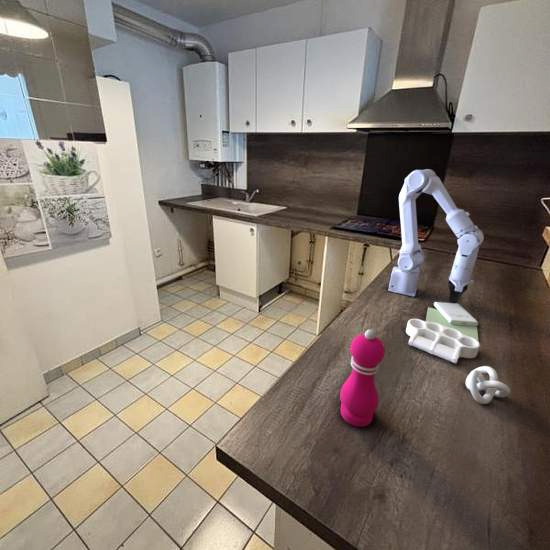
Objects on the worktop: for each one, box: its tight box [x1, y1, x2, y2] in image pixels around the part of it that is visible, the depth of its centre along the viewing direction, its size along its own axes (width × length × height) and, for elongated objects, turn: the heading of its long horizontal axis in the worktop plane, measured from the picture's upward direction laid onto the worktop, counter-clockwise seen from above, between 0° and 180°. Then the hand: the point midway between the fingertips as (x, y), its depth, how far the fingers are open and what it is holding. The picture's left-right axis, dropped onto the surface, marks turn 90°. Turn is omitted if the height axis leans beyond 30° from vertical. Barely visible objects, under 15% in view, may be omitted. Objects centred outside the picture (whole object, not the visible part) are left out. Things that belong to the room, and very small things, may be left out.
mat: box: [425, 306, 479, 342], centre depth 91 cm, size 14×14×1 cm
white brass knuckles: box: [405, 318, 481, 364], centre depth 80 cm, size 3×18×15 cm
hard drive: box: [433, 301, 479, 327], centre depth 95 cm, size 2×8×12 cm
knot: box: [465, 365, 511, 405], centre depth 63 cm, size 8×8×6 cm
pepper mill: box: [339, 329, 386, 428], centre depth 55 cm, size 7×7×20 cm
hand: (452, 302), depth 101 cm, fingers closed
